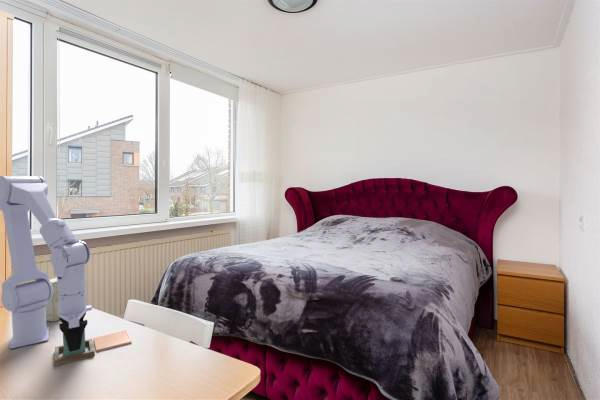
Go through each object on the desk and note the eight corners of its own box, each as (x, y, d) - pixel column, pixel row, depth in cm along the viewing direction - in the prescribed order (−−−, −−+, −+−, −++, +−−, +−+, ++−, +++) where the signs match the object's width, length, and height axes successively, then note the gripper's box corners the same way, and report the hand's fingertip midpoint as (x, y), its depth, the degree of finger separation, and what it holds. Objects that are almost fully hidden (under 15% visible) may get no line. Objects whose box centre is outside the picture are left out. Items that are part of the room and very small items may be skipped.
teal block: (63, 352, 86) (62, 325, 85) (84, 347, 88) (83, 321, 88) (64, 360, 82) (62, 331, 82) (85, 355, 85) (84, 327, 84)
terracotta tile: (93, 339, 93) (93, 337, 93) (126, 332, 97) (126, 330, 97) (96, 351, 86) (96, 349, 86) (131, 343, 91) (131, 341, 91)
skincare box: (54, 322, 104) (52, 282, 104) (42, 321, 105) (40, 281, 104) (72, 314, 111) (70, 276, 110) (60, 313, 111) (58, 276, 111)
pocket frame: (55, 351, 86) (54, 347, 86) (92, 343, 91) (92, 338, 91) (54, 366, 80) (54, 361, 80) (94, 355, 84) (94, 351, 84)
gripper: (93, 297, 81) (95, 353, 82) (89, 282, 93) (91, 331, 93) (56, 303, 77) (59, 362, 78) (56, 286, 89) (59, 338, 89)
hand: (74, 345), depth 85 cm, fingers closed on teal block, 4 cm apart
